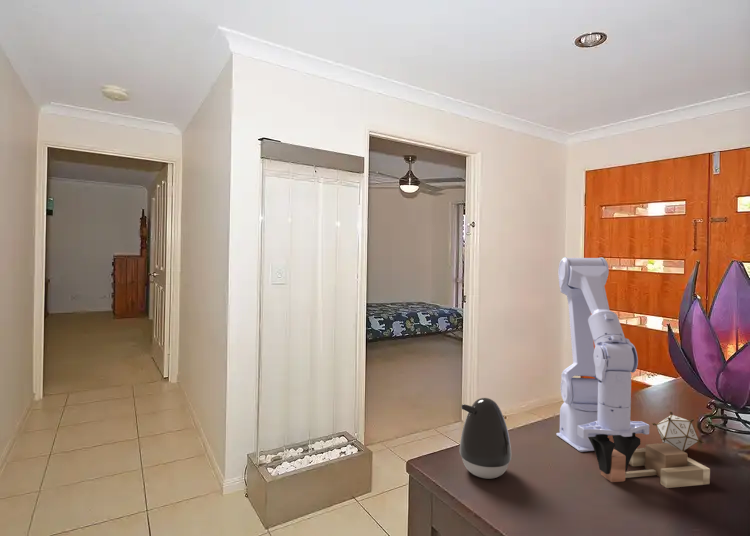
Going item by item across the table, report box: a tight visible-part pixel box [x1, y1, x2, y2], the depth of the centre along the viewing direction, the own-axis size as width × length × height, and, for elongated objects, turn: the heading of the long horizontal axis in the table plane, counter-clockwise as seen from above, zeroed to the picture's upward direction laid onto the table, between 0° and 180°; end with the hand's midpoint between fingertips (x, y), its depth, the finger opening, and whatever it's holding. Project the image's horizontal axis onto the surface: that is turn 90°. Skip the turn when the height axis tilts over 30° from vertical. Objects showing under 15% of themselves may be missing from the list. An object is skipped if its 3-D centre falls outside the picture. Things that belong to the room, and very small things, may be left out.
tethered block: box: [600, 442, 689, 483], centre depth 86 cm, size 5×16×5 cm, turn 99°
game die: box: [651, 410, 705, 452], centre depth 98 cm, size 9×8×10 cm
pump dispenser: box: [459, 397, 512, 480], centre depth 87 cm, size 10×10×15 cm
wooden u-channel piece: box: [629, 447, 711, 489], centre depth 87 cm, size 10×10×3 cm
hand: (612, 470), depth 85 cm, fingers open, 3 cm apart
